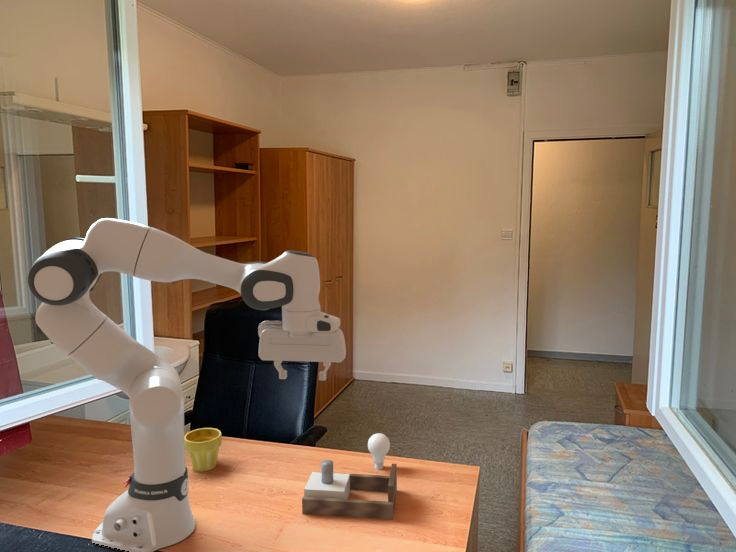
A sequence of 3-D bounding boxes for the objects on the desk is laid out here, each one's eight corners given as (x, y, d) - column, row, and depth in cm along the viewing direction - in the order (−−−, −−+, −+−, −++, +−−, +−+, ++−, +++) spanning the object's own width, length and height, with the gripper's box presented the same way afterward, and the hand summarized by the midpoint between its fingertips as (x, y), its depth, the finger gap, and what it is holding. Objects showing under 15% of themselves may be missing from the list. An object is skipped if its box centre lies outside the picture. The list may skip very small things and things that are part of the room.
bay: (302, 517, 133) (301, 483, 132) (314, 488, 147) (314, 457, 146) (392, 523, 131) (392, 488, 130) (396, 493, 144) (396, 461, 143)
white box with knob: (304, 508, 136) (303, 469, 134) (312, 489, 144) (311, 453, 143) (344, 510, 134) (343, 472, 133) (349, 492, 143) (349, 455, 142)
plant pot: (194, 478, 153) (193, 445, 152) (179, 465, 161) (178, 433, 159) (228, 467, 160) (227, 435, 158) (213, 455, 167) (211, 424, 166)
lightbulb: (390, 476, 154) (390, 438, 152) (367, 476, 154) (367, 438, 152) (389, 465, 160) (389, 429, 159) (367, 465, 160) (367, 429, 159)
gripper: (253, 322, 124) (255, 381, 126) (342, 324, 122) (343, 384, 124) (262, 317, 131) (263, 373, 132) (346, 319, 128) (347, 376, 130)
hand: (302, 379), depth 128 cm, fingers open, 8 cm apart
